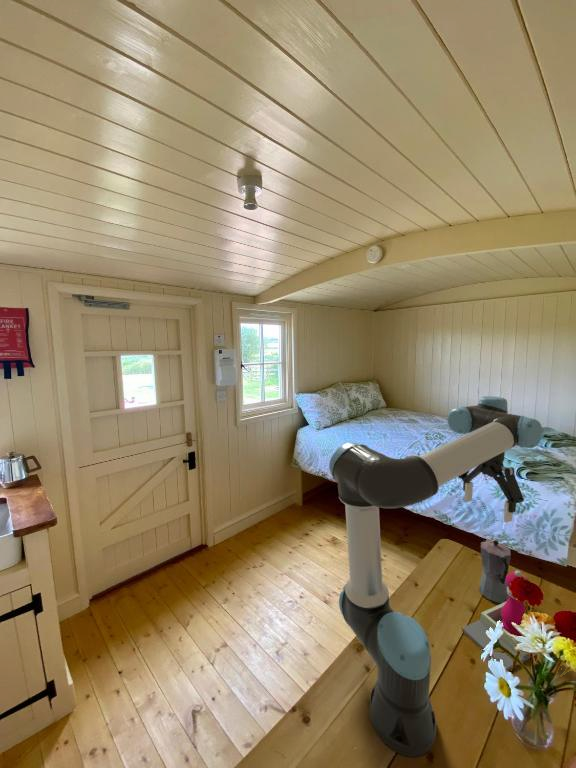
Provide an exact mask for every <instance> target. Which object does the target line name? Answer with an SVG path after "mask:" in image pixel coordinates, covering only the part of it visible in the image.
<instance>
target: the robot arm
mask: <svg viewBox="0 0 576 768" xmlns="http://www.w3.org/2000/svg"><path fill="white" fill-rule="evenodd" d="M508 412H509V411H508V400H507V399H506V398H505V397H500V396H493V395H487V396H486V395H485V396H481V397H479V399H478V403H477V405H469V406H460V407H456V408H453V409H451V410H450V411H449V412H448V415H447V425H448V427H449V429H450V430H451V431H452V432H454V433H456V434H461V435H462V434H464V435H462V436H460V437H457V438H455V439H454V440H451V441H449V442H447V443H445V444H443V445H441V446H438V447H437V448H435V449H433V450H430V451H429V452H427V453H424V454H422V455H418V454H417V455H416V454H411V455H409V456H406V457H404V458H394V457H390V456H387V455H385V454H384V453H381V452H380V451H376V450H375V449H372V448H370V447H369V446H368V445H365V444H361V443H358V442H355V441H351V442H345V443H343V444H342V445H340V446H339V447H337V449H336V451H334V453H333V454H332V456H331V457H330V461H329V473H330V475H331V477H332V479H334V480H335V481H337V489H338V491H337V492H338V498H339V500H340V502H341V503H343V504H344V506H345V507H344V508H345V520H346V521H345V522H346V523H345V524H346V536H347V537H346V538H347V539H346V540H347V554H348V567H349V569H348V571H349V579H347V581H346V583H345V584H344V586H343V587H342V591H340V593H339V598H338V606H339V610H340V613H341V615H342V617H343V620H344V621H345V623H346V624H347V625H348V626H349V628H350V629H351V630H352V633H354V635H355V636H356V637H357V639H358V640H359V641H360V642H359V643H361V644H362V646H363V647H364V648H365V650H366V651H367V653H368V654H369V656H370V657H371V659H372V660H373V662H374V663H375V665H376V667H377V677H376V678H377V680H376V682H375V684H374V685H373V688H372V691H371V693H370V696H369V697H370V698H369V717H370V720H371V723H372V726H373V729H374V730H375V733H376V732H377V733H376V734H377V735H378V737H379V738H380V740H381V739H382V740H383V741H382V740H381V741H382V743H384V744H385V745H386V744H387V745H388V746H389V747H390V748H389V747H388V746H387V745H386V746H387V747H388V748H389V749H391V750H392V749H393V750H392V751H394V752H395V751H396V752H395V753H397V754H399V755H403V756H405V757H414V758H415V757H416V758H417V757H420V756H423V755H425V754H426V753H428V752H429V751H430V750H432V748H433V746H434V744H435V741H436V736H437V735H436V734H437V720H436V715H435V710H434V707H433V705H432V702H431V699H430V683H431V681H430V680H431V679H430V678H431V666H432V655H431V645H430V641H429V637H428V635H427V632H425V630H424V628H423V627H422V626H421V625H420V624H419V622H418V621H417V620H416V619H414V618H413V617H411V616H409V615H406V616H405V615H404V613H402V612H398V611H395V610H394V609H393V608H392V606H391V605H390V593H389V592H390V591H389V587H388V585H387V584H386V583H385V582H384V580H383V569H382V567H383V566H382V549H381V548H382V547H381V546H382V545H381V527H380V526H381V525H380V524H381V523H380V508H382V509H398V508H405V507H409V506H412V505H415V504H418V503H421V502H424V501H425V500H428V499H429V498H431V497H433V496H436V495H437V494H438V492H439V490H440V487H441V486H443V485H445V484H447V483H448V482H449V483H450V482H451V481H452V480H454V479H456V478H458V479H461V480H462V485H463V487H462V489H463V491H464V496H463V497H464V498H463V500H464V501H463V502H465V503H469V502H473V489H474V485H473V484H474V482H473V479H474V478H476V477H478V475H480V474H481V473H482V474H483V475H486V476H488V477H490V478H493V480H495V482H496V483H497V484H498V486H499V488H500V489H501V491H502V493H503V494H504V496H505V498H506V500H505V501H504V512H503V513H504V514H503V522H504V523H510V522H513V515H514V513H516V511H517V504H520V503H523V502H524V501H525V499H524V496H523V494H522V491H521V489H520V485H519V483H518V481H517V478H516V475H515V468H514V467H512V466H511V467H507V466H504V460H505V453H506V451H508V450H511V449H512V448H514V447H517V446H519V447H520V448H526V449H533V448H535V447H537V446H538V445H539V444H540V442H541V440H542V437H543V427H542V424H541V422H540V421H539V420H538V419H535V418H533V417H532V418H531V417H527V416H525V415H518V414H512V413H508ZM471 470H472V471H471ZM470 471H471V472H470Z"/></svg>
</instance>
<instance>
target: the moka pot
mask: <svg viewBox="0 0 576 768" xmlns="http://www.w3.org/2000/svg"><path fill="white" fill-rule="evenodd" d="M480 554H481V565H482V573H481V578H480V584H479V588H478V590H479V592H480V593H481V595H482V596H484V598H486V599H488V600H489V601H491V602H495V603H499V604H502V603H504V602H506V601H507V600H508V596H509V594H508V593H507V587H508V586H507V584H506V577H507V575H508V574H509V573H508V572H509V567H510V562H511V557H512V556H511V555H512V554H511V549H510V548H508V547H506V546H505V545H503V544H502V543H499V541H498V540H496V539H495V540H494V539H493V540H492V539H486V540H485V541H482V542H480Z"/></svg>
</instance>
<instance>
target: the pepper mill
mask: <svg viewBox="0 0 576 768" xmlns="http://www.w3.org/2000/svg"><path fill="white" fill-rule="evenodd" d="M515 577H522V578H523V579H525V580H527V581H528V579H527V578H526V577H525V576H524V575H523V574H522V572H521V571H520V570H518V569H517V570H515V571H514V572H510V573H508V574H507V575H506V584H507V593H508V600H507V602H506V603H505V604H504V606H503V608H502V611H501V616H502V618H503V621H502V622H503V625H504V627H503V628H504V629H505V630H506V631H507V632H509V633H510V634H514V635H517V636H522V635H521V634H520V633H519V632H518V631H517V630H516V629H515V628H514V627H513V626H512V624H511V622H514V623H516V624H517V625H520V624H521V621H522V616H523V614H524V613H525V611H526V612H527V610H526V606H525V602H524V603H523V602H519V601H518V600H516V599H515V598H514V597H513V595H512V593H511V590H510V583H511V581H512V580H513V579H514V578H515Z"/></svg>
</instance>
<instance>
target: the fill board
mask: <svg viewBox="0 0 576 768" xmlns="http://www.w3.org/2000/svg"><path fill="white" fill-rule="evenodd" d="M506 602H507V601H506ZM506 602H504V603H499V604H498V605H495V606H493V607H491V608H488V609H486V610H484V611H482V612H480V619H478V620H476V621H474V622H472V623H470V624H467V625H465V626H463V627H461V631H462V633H464V634H465V635H466V636H467V637H468V638H469V639H470V640H471V641H472V642H473V643H474V644H476V645H477V646H478V647H479V649H480V650H482V651H483V649H484V647H485V646H486V645H487V644H488V643H489V638H488V637H487V635H486V633H485V632H486V630H487V629H488V628H490V627H491V628H495V626H496V622H497V621H499V620H500V621H503V618H502V616H501V611H502V608H503V606H504V604H505V603H506ZM503 631H504V635H503V636H502V637H501V639H500V641H499V642H500V643H501V644H502V645H503V646H504V647H505V648H507V649H508V650H509V651H510V652H511V653H512V654H513V655H517V652H516V651H515V650H514V647H515V644H516V643H517V642H516V641H515V640H514V639H513V638H511V637H510V636H508V635H507V633H509V632H507V631H506V630H505V629H504V628H503ZM529 657H530V655H529V654H528V653H525V652H520V655H519V658H520V660H521V661H522V662H523V663H524V662H526V661H528V660H529ZM489 658H491V656H490V657H489ZM493 658H494V659H502V660H503V661H504V663H505V665H506V669H507V670H508V671H510V670H511V669H510V668H511V667H512V665H513V660H512V659H511V658H510V657H509V656H507V655H506V654H505V653H501V652H494V653H493ZM519 665H520V664H517V665H516V666H515V667H517V666H519Z"/></svg>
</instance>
